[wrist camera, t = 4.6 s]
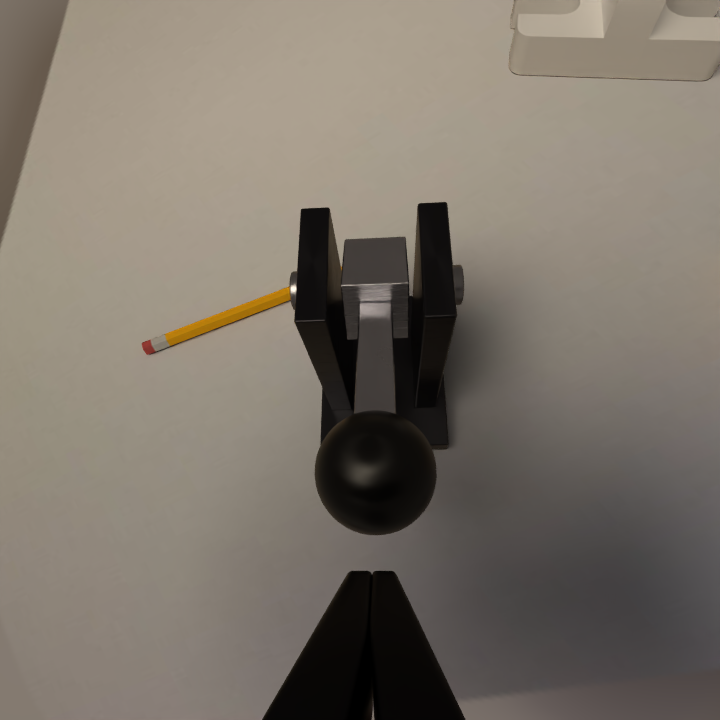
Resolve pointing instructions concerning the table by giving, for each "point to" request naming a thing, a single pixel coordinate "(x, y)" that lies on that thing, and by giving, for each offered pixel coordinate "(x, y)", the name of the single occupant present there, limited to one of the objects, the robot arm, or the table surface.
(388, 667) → the robot arm
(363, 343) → the ball knob lever
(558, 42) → the slotted bracket
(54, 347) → the table surface
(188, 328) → the pencil
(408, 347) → the bracket
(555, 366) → the table surface
